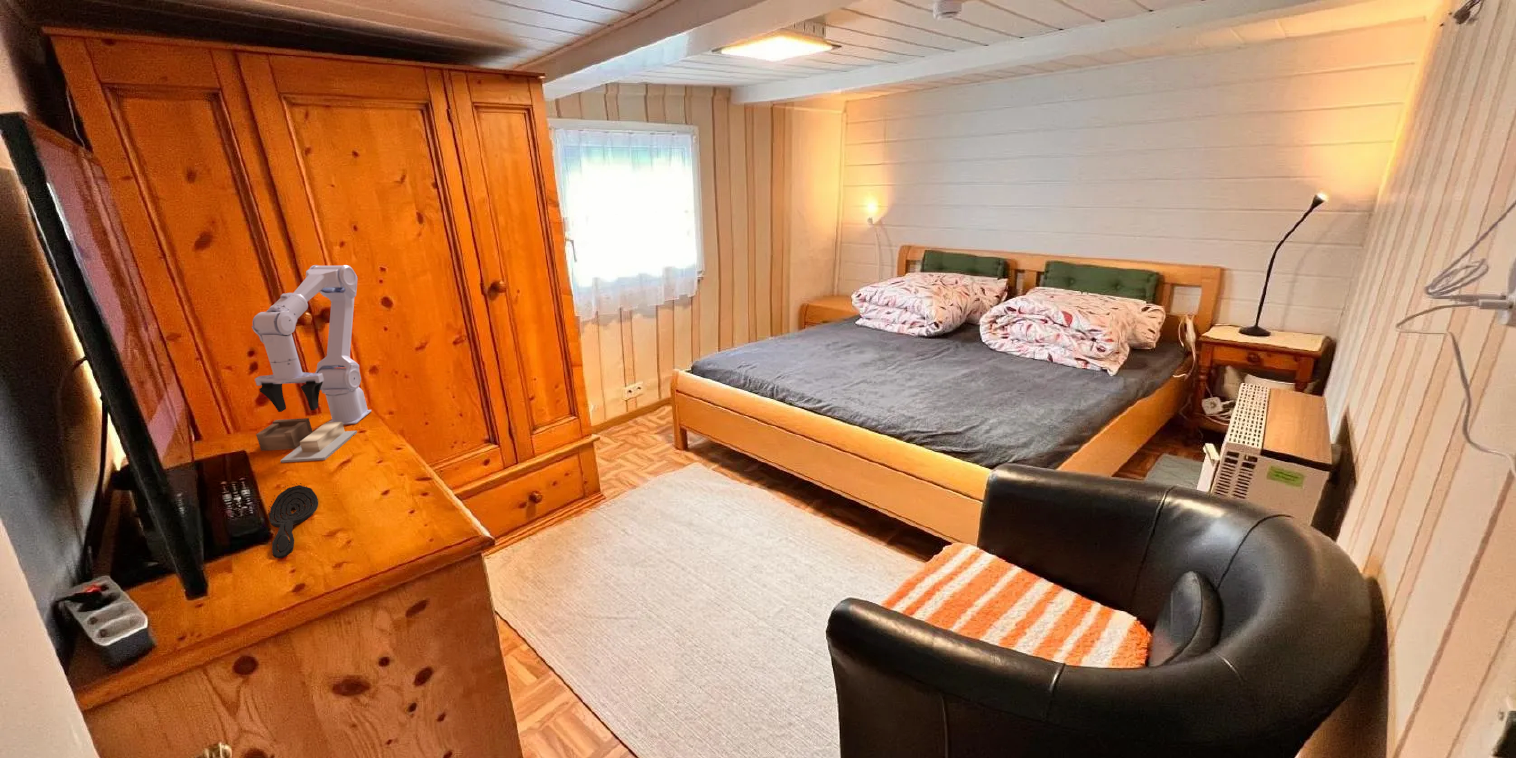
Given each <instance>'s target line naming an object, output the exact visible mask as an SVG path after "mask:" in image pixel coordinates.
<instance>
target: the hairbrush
mask: <svg viewBox="0 0 1516 758" xmlns="http://www.w3.org/2000/svg"><path fill="white" fill-rule="evenodd" d="M295 484H296V485H295ZM295 484H294V483H291V487H288V486H289V485H288V484H287V486H286V485H284V486H285V487H284V486H283V487H282V488H283V489H284V490H283V491H281V490H279V492H280V493H279V494H278V495H277V497H276V495H275V494H274V495H273V496H274V497H275V499H274V498H272V500H273V501H274V502H273V501H270V502H271V503H272V504H271V503H270V504H269V506H268V507H269V509H268V510H267V512H269V513H268V516H269V517H268V521H269V523H270V524H271V526H273V527H275V528H278V531H277V533H276V535H275V537H274V539H273V540H272V542H271V553H272V555H273V557H274V558H277V559H282V558H285V557H288V555H290V553H292V552H293V551H294V545H295V538H294V534H293V527H294V525H297V524H300V523H302V522H305V521H307V520H308V519H309V518H310V517H312V516H313V515H314V513H315V512H316V511H317V510H318V507H319V500H318V496H317V494H316V493H315V491H314V490H313V489H312V488H311V487H308V486H305V485H302V483H299V484H297V482H295ZM285 488H286V489H285Z"/></svg>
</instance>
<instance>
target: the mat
mask: <svg viewBox="0 0 1516 758" xmlns="http://www.w3.org/2000/svg"><path fill="white" fill-rule="evenodd" d="M344 431H345V430H344ZM357 433H358V431H357V430H346V431H345V432H344V433H343V434H341V435H340V436H339V437H338V438H336V439H335V440H334V441H332V442H331V443H330V444H329V445H327V446H326V447H325V448H324V449H322V450H321V451H320V452H302V448H301V445H300V446H298V447H297V448H296V449H292V451H291V452H290V453H288V454H286V455H285V456H284V457H283V458H282V459H280V463H282V464H283V463H293V462H294V463H296V462H297V463H299V462H309V461H311V462H312V461H313V462H314V461H326V460H327V459H328V458H329V457H331V456H332V455H333V454H334V453H335V452H337V451H338V450H339V449H340V448H341V447H342V446H343V445H344V444H346V443H347V442H348V441H350V439H351V437H352V436H353V435H354V436H355V435H356V434H357ZM354 436H353V437H354ZM353 437H352V438H353Z"/></svg>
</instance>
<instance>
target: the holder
mask: <svg viewBox="0 0 1516 758" xmlns="http://www.w3.org/2000/svg"><path fill="white" fill-rule="evenodd" d="M312 432H314V431H313V428H312V425H311V421H310V418H309V417H307V418H306V417H305V418H303V417H302V418H289V419H287V418H285V419H284V418H283V419H275V420H273V421H272V423H271V424H270V425H269V426H267V427H265V428H264V429H262V430H260V431H259V432H258V433H256V434H255V436H256V438H257V442H258V445H259V447H260V451H262V452H263V451H278V450H295V449H296V448H297V447H299V446H300V441H301V440H303V439H304V438H305V437H307V436H308V435H310V434H311V433H312Z"/></svg>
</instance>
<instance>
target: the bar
mask: <svg viewBox="0 0 1516 758" xmlns="http://www.w3.org/2000/svg"><path fill="white" fill-rule="evenodd" d="M344 432H345V428H344V424H343V423H342V422H329V421H327V422H325V423H323V424H322V425H321V426H319V427H317V428H316V429H315V430H314V431H313V432H312V433H311V434H310V435H308V436H307V437H305V438H304V439H303V440H301V441H300V445H301V448H302V452H320V451H321V450H322V449H324V448H325V447H326V446H327V445H329V444H330V443H331V442H332V441H334V440H335V439H336V438H338V437H339V436H340V435H341V434H343V433H344Z"/></svg>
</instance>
